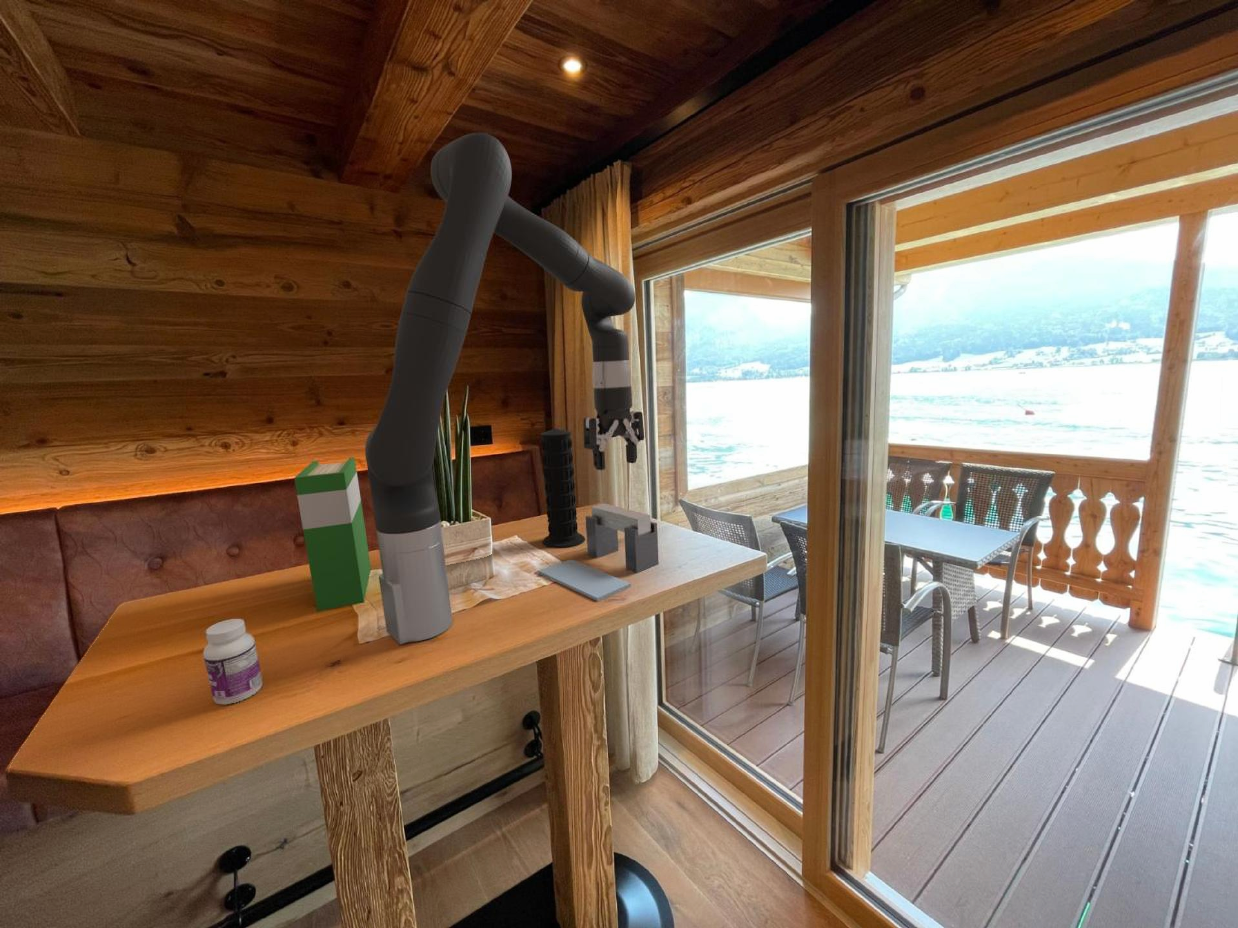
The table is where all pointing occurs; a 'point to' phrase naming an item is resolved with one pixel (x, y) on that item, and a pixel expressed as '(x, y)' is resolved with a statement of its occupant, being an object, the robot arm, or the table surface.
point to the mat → (585, 579)
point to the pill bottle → (231, 662)
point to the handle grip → (560, 490)
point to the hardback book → (334, 533)
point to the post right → (641, 549)
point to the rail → (621, 518)
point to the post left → (600, 538)
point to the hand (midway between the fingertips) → (616, 466)
